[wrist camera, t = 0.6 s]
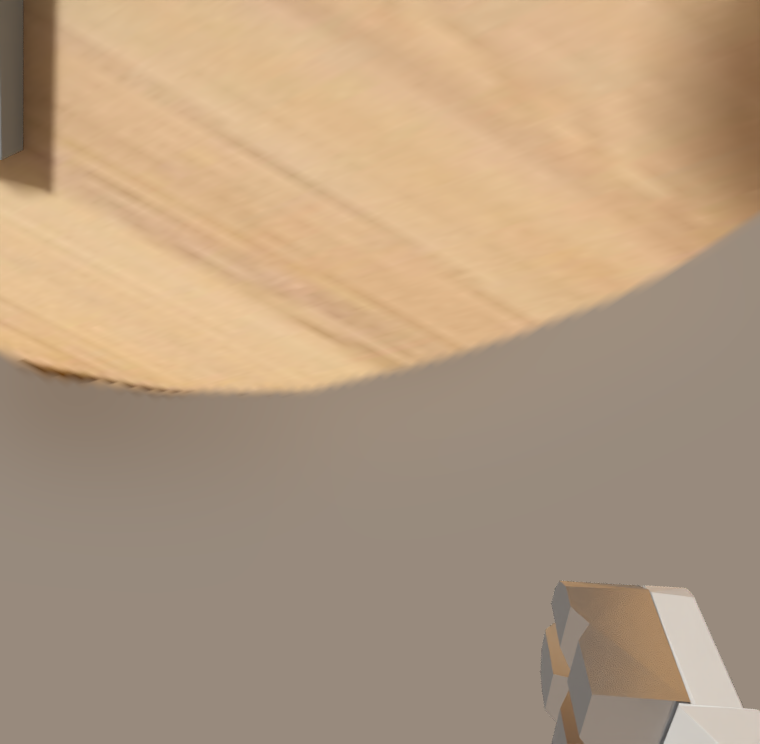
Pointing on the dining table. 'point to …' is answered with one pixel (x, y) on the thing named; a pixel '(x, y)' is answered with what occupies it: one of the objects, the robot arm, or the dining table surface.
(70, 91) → the dining table surface
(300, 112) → the dining table surface
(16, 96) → the button board
